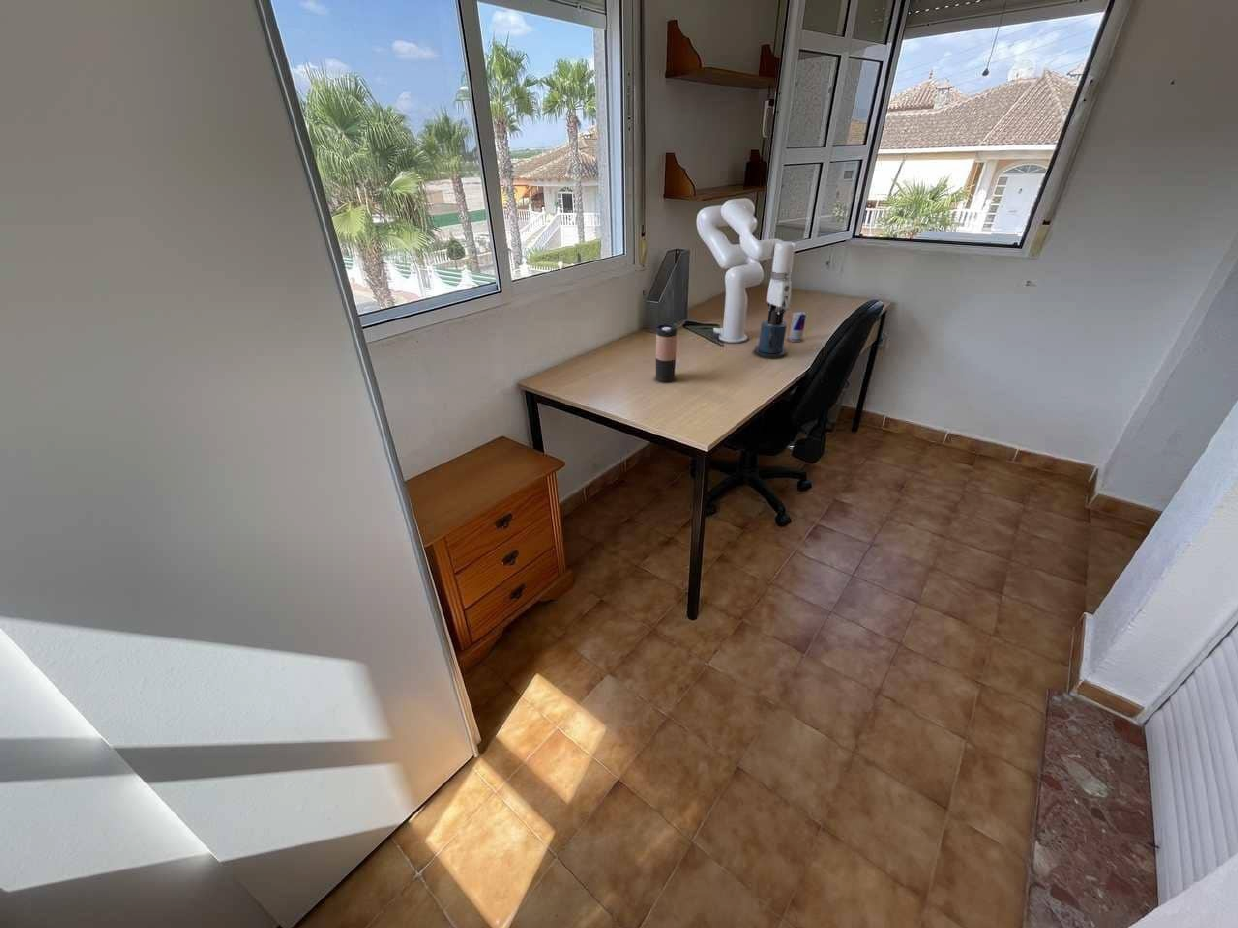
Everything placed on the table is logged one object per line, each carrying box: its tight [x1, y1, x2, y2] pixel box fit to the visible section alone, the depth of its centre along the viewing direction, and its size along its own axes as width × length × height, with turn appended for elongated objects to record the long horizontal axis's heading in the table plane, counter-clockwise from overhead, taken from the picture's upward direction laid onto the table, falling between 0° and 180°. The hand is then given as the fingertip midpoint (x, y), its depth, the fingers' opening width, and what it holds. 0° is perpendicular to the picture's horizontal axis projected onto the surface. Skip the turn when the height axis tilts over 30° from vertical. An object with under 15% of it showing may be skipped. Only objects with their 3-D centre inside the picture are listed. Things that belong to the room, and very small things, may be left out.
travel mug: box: [655, 323, 678, 383], centre depth 194 cm, size 8×8×20 cm
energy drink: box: [788, 311, 807, 343], centre depth 231 cm, size 5×5×12 cm
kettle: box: [758, 309, 788, 353], centre depth 216 cm, size 16×10×16 cm, turn 160°
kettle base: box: [753, 345, 787, 360], centre depth 221 cm, size 13×13×2 cm
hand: (774, 321), depth 214 cm, fingers open, 4 cm apart
